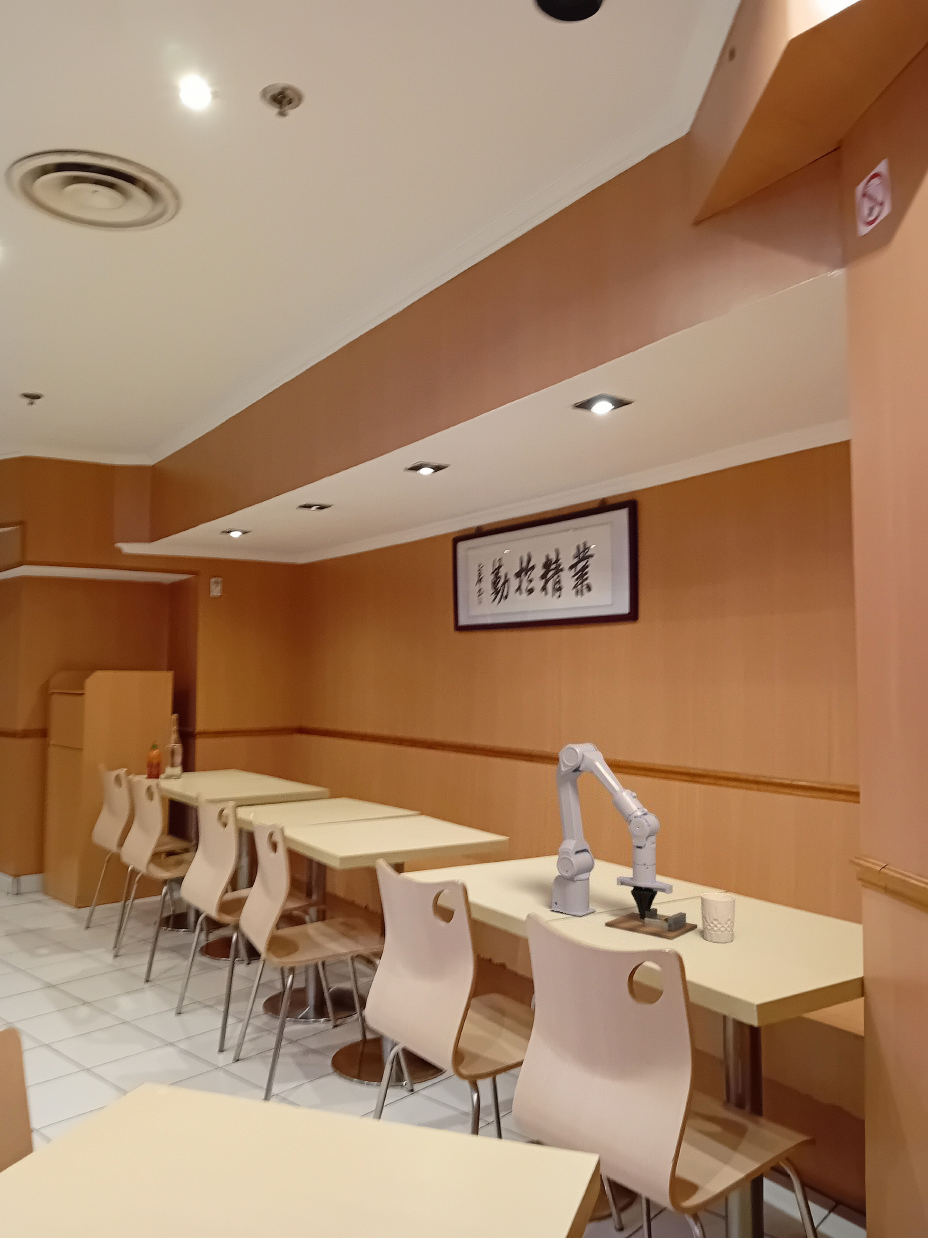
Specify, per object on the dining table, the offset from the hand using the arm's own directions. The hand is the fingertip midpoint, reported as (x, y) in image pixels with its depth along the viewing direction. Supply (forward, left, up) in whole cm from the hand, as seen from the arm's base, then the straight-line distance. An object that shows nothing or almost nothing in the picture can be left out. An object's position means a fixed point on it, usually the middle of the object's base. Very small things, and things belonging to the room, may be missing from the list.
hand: (644, 918), depth 225 cm
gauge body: (+6, 0, -1) cm, 6 cm away
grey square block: (+4, -1, -1) cm, 5 cm away
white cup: (+19, +1, -2) cm, 19 cm away
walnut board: (+2, 0, -2) cm, 3 cm away
